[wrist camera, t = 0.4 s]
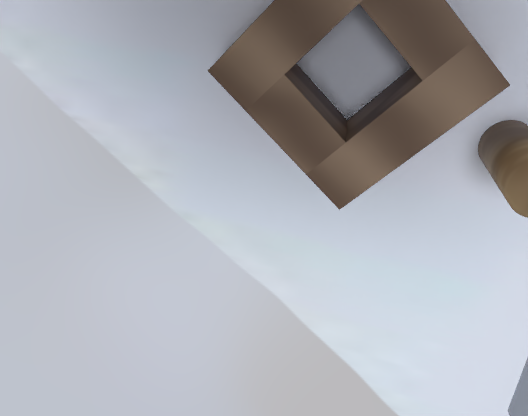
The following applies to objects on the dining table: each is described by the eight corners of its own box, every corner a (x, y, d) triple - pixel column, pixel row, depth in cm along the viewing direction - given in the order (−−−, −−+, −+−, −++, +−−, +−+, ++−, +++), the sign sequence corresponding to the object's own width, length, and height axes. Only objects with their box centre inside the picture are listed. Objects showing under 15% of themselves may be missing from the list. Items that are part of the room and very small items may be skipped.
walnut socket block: (366, -91, 27) (368, -100, 23) (490, 68, 30) (510, 84, 26) (225, 57, 32) (207, 70, 28) (341, 181, 35) (339, 209, 31)
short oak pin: (515, 109, 31) (555, 146, 25) (545, 148, 31) (591, 193, 25) (467, 143, 32) (493, 186, 26) (497, 179, 33) (529, 229, 27)
